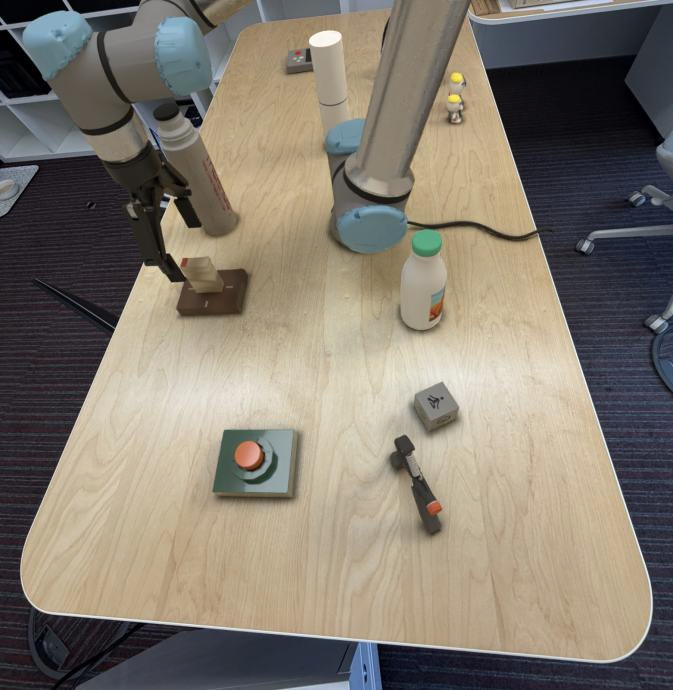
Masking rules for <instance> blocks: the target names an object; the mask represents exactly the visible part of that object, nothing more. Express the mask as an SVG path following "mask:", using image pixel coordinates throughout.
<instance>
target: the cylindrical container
mask: <svg viewBox="0 0 673 690" xmlns="http://www.w3.org/2000/svg"><path fill="white" fill-rule="evenodd" d="M342 37H343V36H342V33H341V32H339V31H337V30H323V31H318V32H317V33H315V34H313V35H312V36H310V37H309V38H308V45H309V48H310V51H311V57H312V64H313V70H312V71H313V75H314V81H315V82H314V83H315V87H316V95H317V101H318V107H319V112H320V119H321V125H322V131H323V137H324V140H325V139H326V136H327V133H328V132H329V131H330V130H331V129H332V128H333V127H335V126H337V125H338V124H340V123H342V122H345V121H348V120H351V115H350V106H349V96H348V95H349V94H348V84H347V75H346V66H345V56H344V46H343V38H342ZM324 143H325V145H326V142H325V141H324Z"/></svg>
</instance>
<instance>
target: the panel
mask: <svg viewBox="0 0 673 690" xmlns="http://www.w3.org/2000/svg"><path fill="white" fill-rule="evenodd" d="M216 270H217V271H218V273H219V275H220V277H221V279H222V280H223V282H224V285H223V289H222V292H211V293H196V291H195V290H194V288H193V287H192V285H191V284H190V282H189V281H188V279H187V278H186V282H182V288H181V291H180V294H179V297H178V301H177V304H176V308H175V310H176V311H177V312H178V313H179V315H180V316H183V317H184V316H186V317H187V316H207V315H232V314H235V315H236V314H241V312H242V306H243V301H244V297H245V291H246V287H247V281H248V274H247V272H246V269H245V268H233V269H232V268H230V269H216Z"/></svg>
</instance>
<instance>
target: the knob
mask: <svg viewBox="0 0 673 690" xmlns="http://www.w3.org/2000/svg"><path fill="white" fill-rule="evenodd" d="M179 268H180V270H181V271H182V273H183V274H184V276H185V277H186V278H187V279H188V281H189V282H190V284H191V285H192V287H193V288H194V290H195V291H196V293H211V292H222V289H223V285H224V282H223V280H222V279H221V277H220V275H219V273H218V271H217V270H218V269H217V268H216V266H215V265H214V263H213V261H212V259H211V257H210V256H199V257H182V259H181V262H180V265H179Z"/></svg>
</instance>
